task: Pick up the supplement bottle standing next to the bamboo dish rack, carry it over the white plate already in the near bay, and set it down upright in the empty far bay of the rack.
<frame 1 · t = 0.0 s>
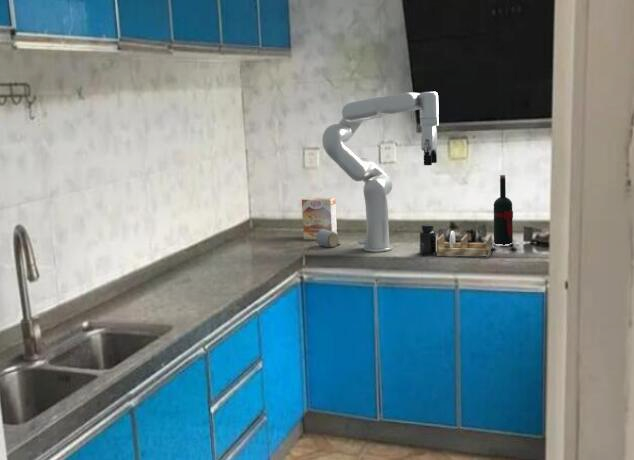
hand: (430, 164, 297), 37 cm above the worktop, tool pointing down, fingers open, 9 cm apart
coffeecake box: (320, 238, 344), on the worktop
wine bottle: (504, 245, 306), on the worktop
rack: (464, 253, 295), on the worktop
ceramic mug: (330, 246, 325), on the worktop
plate: (452, 253, 297), resting on rack
supplement bottle: (428, 253, 299), on the worktop
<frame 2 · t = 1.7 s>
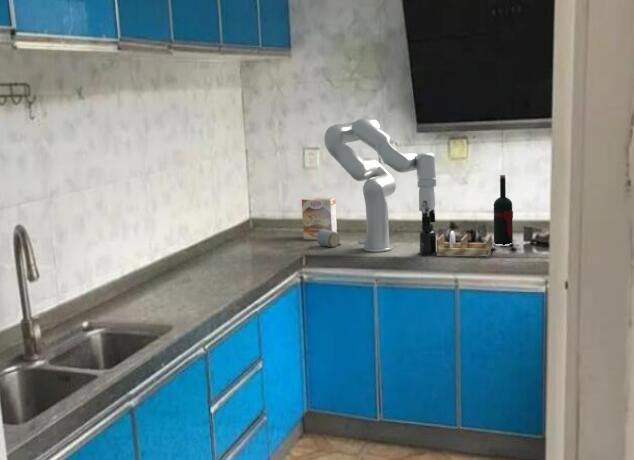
hand: (428, 224, 297), 12 cm above the worktop, tool pointing down, fingers open, 9 cm apart
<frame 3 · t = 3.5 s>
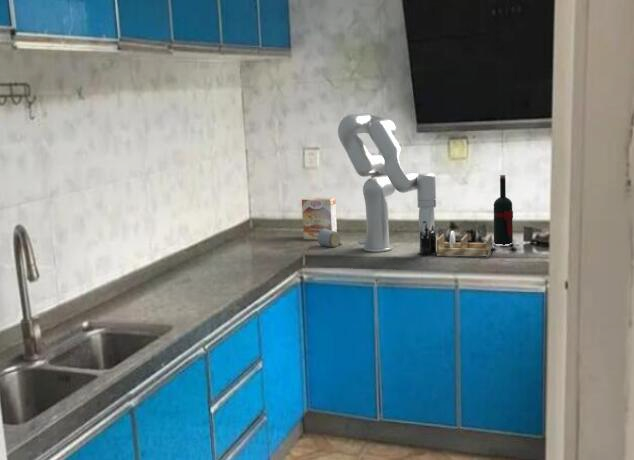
hand: (427, 245, 299), 3 cm above the worktop, tool pointing down, fingers closed on supplement bottle, 6 cm apart
supplement bottle: (428, 253, 299), on the worktop, touching gripper
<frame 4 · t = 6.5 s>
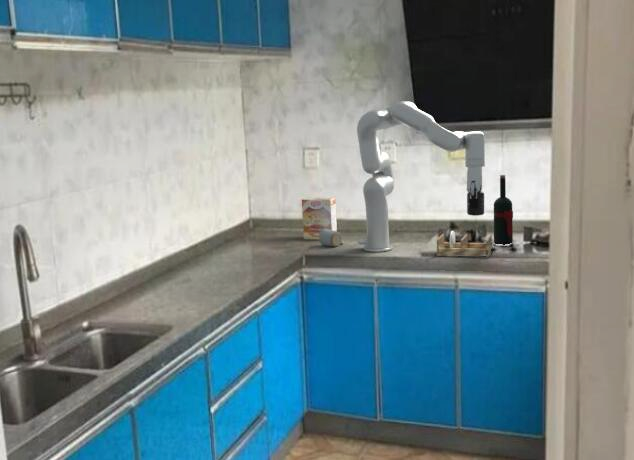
hand: (475, 206, 290), 20 cm above the worktop, tool pointing down, fingers closed on supplement bottle, 6 cm apart
supplement bottle: (475, 214, 290), point 16 cm above the worktop, touching gripper
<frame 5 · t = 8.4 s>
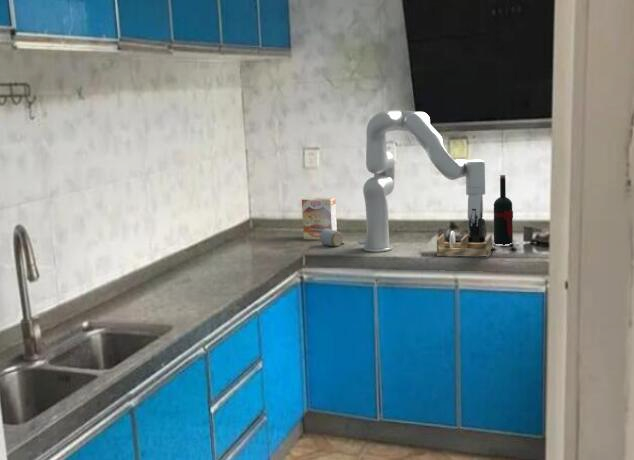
hand: (476, 233, 292), 8 cm above the worktop, tool pointing down, fingers closed on supplement bottle, 6 cm apart
supplement bottle: (476, 241, 292), point 5 cm above the worktop, touching gripper
when the fingers open (6 cm above the worktop, at t = 9.9 s): supplement bottle drops 2 cm, resting on rack.
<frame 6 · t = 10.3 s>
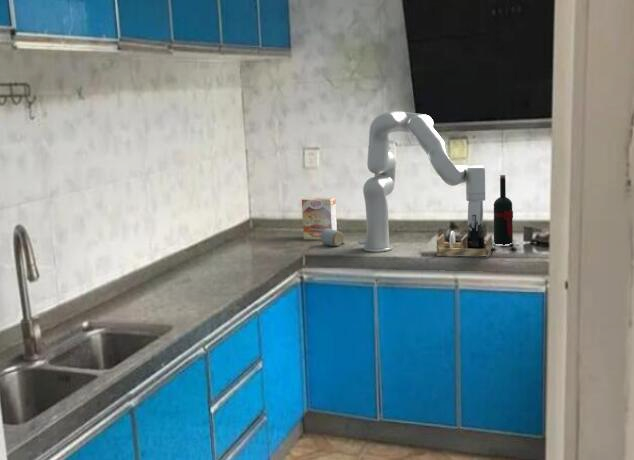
hand: (476, 238, 292), 6 cm above the worktop, tool pointing down, fingers open, 9 cm apart
supplement bottle: (476, 252, 293), point 1 cm above the worktop, touching rack
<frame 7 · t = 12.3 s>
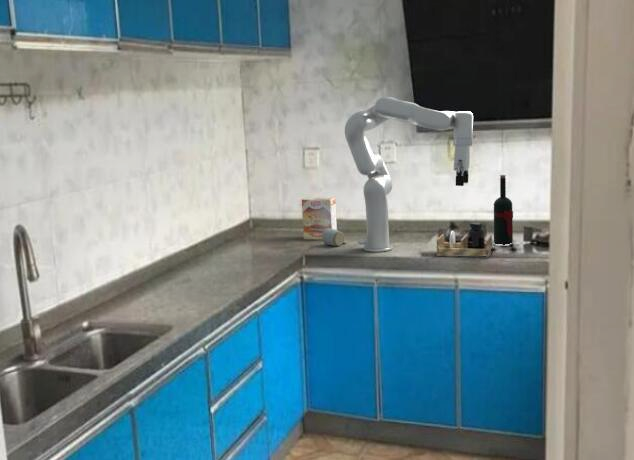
hand: (461, 184, 294), 28 cm above the worktop, tool pointing down, fingers open, 9 cm apart
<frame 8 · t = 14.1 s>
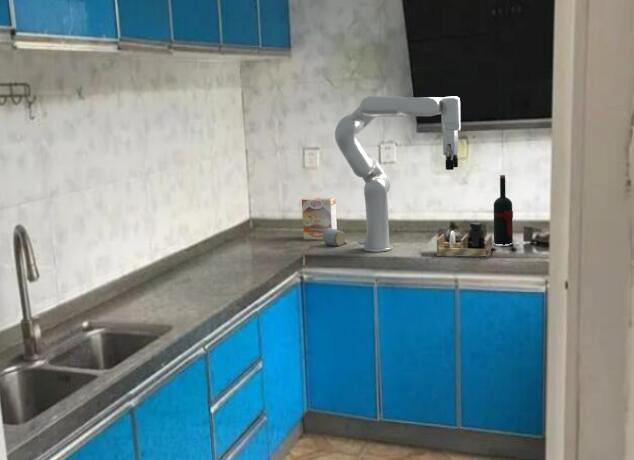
hand: (451, 168, 298), 34 cm above the worktop, tool pointing down, fingers open, 9 cm apart
at the end: supplement bottle inside the target area on the rack (0.3 cm from its centre), point 0.6 cm above the rack's base; supplement bottle tilted 0°; the gripper is holding nothing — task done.
